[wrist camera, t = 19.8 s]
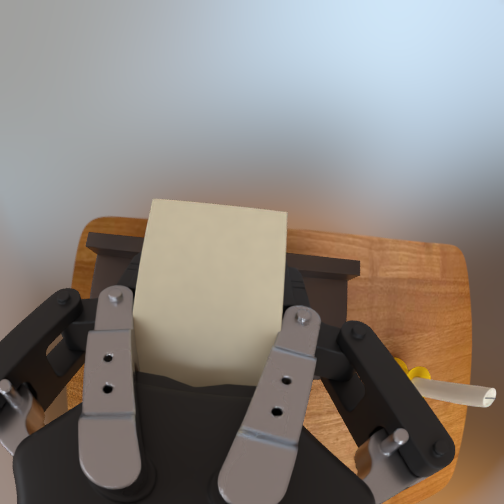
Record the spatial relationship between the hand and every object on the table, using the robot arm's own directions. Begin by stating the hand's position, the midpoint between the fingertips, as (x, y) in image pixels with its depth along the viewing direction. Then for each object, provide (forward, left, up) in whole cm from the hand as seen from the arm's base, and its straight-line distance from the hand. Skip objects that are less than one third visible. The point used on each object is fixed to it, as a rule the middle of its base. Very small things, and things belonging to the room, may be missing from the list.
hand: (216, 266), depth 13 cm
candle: (+19, -8, -15) cm, 25 cm away
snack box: (0, -2, -6) cm, 6 cm away
